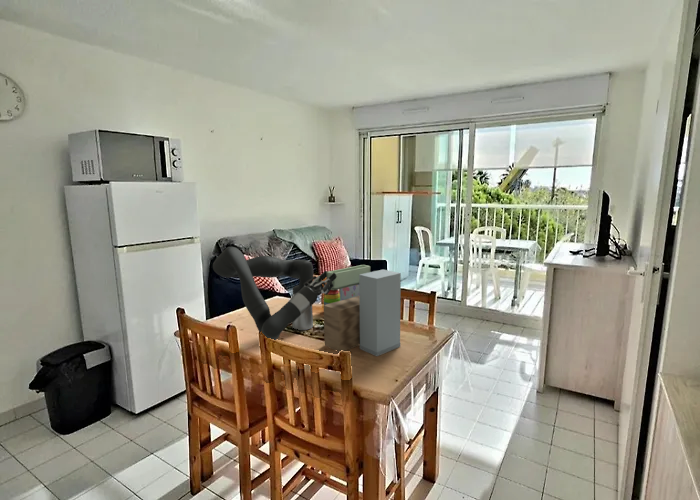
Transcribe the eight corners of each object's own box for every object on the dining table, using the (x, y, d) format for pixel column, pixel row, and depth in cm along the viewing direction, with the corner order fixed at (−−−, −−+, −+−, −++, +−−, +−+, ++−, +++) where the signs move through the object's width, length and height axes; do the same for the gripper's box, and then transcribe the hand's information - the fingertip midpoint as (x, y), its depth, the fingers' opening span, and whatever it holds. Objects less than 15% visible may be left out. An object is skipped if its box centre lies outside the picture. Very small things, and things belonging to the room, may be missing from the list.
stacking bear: (335, 316, 203) (334, 283, 200) (319, 313, 208) (318, 281, 205) (346, 310, 212) (345, 279, 209) (331, 307, 217) (330, 277, 214)
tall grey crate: (376, 356, 154) (376, 278, 149) (359, 348, 162) (358, 274, 156) (400, 346, 163) (401, 273, 158) (383, 339, 171) (383, 269, 166)
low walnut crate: (339, 352, 158) (338, 310, 155) (324, 345, 166) (323, 305, 163) (378, 337, 173) (378, 299, 170) (363, 331, 181) (363, 294, 178)
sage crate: (333, 290, 157) (333, 273, 156) (326, 288, 160) (326, 271, 159) (370, 281, 172) (370, 266, 171) (362, 279, 175) (363, 264, 174)
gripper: (295, 303, 156) (323, 277, 165) (317, 312, 146) (346, 283, 154) (287, 289, 152) (316, 263, 161) (309, 297, 142) (339, 269, 151)
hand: (331, 273), depth 158 cm, fingers closed on sage crate, 4 cm apart
